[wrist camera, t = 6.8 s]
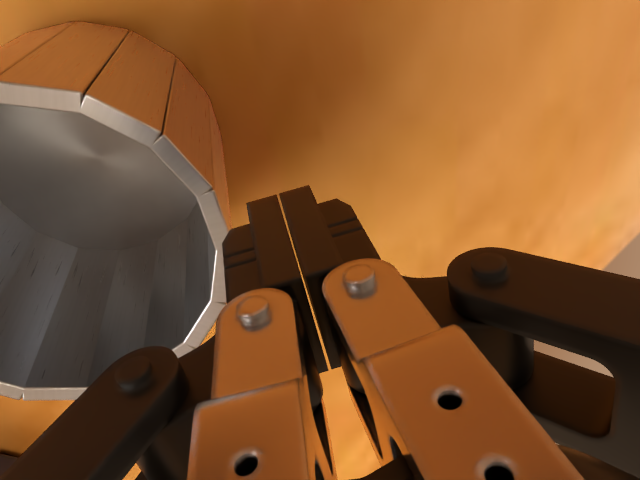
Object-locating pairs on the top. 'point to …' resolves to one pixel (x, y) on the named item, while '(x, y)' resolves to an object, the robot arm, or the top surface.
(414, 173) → the top surface
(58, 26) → the pot
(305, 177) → the top surface
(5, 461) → the flat box
